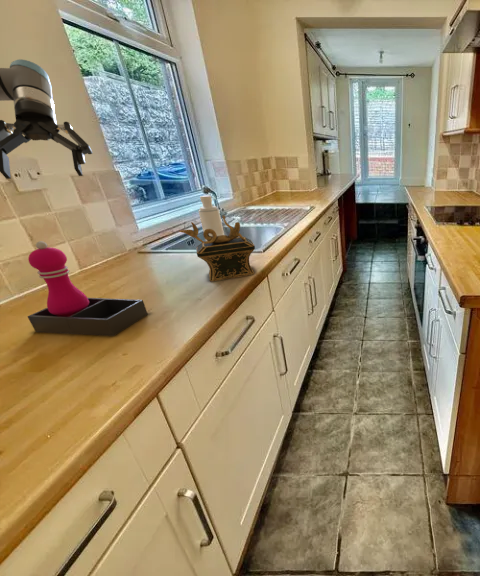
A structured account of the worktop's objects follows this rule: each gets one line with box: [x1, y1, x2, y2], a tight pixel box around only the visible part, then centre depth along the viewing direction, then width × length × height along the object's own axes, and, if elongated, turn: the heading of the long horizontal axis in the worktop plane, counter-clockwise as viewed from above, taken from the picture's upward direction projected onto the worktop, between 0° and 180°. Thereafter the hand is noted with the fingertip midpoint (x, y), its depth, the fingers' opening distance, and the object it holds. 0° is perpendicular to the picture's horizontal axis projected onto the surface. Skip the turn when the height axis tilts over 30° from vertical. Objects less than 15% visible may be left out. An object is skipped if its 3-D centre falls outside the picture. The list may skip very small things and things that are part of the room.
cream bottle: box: [197, 194, 225, 241], centre depth 119 cm, size 7×7×25 cm
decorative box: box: [179, 213, 256, 282], centre depth 103 cm, size 20×10×20 cm, turn 119°
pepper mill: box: [27, 241, 89, 317], centre depth 74 cm, size 7×7×20 cm
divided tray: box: [26, 297, 149, 337], centre depth 77 cm, size 20×10×5 cm, turn 85°
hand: (43, 173), depth 80 cm, fingers open, 13 cm apart
